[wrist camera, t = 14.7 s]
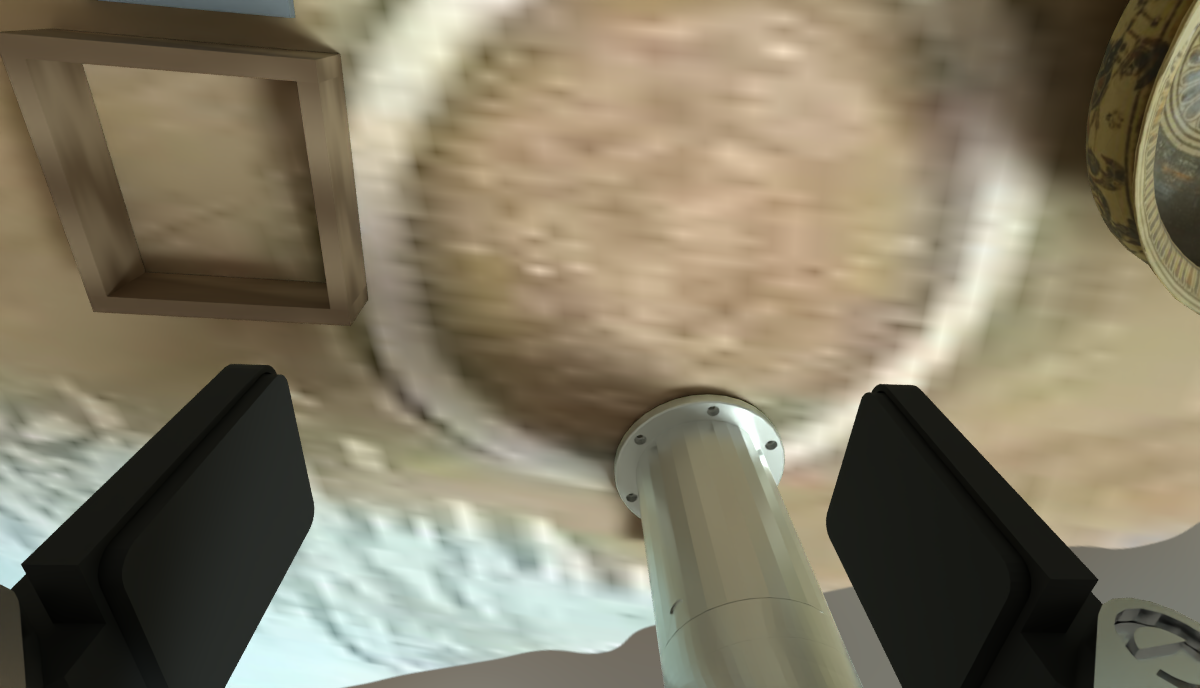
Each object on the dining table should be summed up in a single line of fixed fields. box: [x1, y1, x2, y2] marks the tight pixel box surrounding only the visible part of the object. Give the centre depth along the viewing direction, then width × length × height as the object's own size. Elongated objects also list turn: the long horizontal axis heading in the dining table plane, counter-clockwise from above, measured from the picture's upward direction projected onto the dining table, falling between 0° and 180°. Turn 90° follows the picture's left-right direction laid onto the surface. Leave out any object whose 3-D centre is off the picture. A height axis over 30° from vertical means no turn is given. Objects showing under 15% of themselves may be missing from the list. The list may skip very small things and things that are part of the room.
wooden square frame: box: [0, 29, 368, 326], centre depth 33 cm, size 14×14×4 cm
